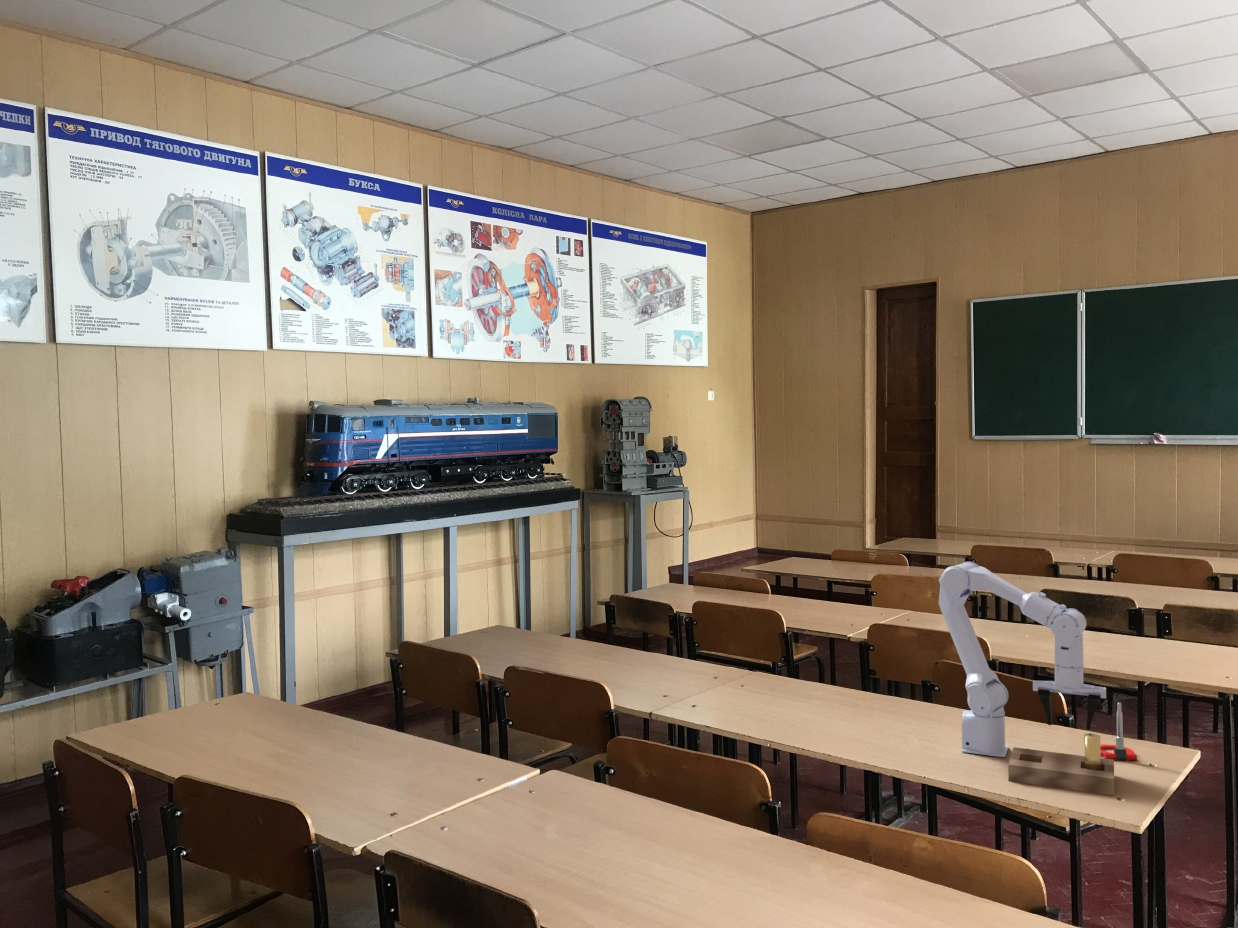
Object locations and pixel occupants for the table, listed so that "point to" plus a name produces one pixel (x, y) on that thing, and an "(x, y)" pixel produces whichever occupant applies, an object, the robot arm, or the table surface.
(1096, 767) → the brass pin
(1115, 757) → the tow hook
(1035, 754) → the hole block
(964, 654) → the robot arm
